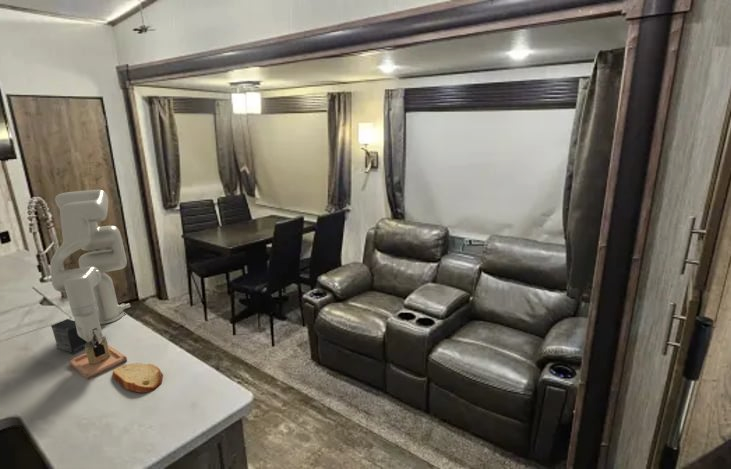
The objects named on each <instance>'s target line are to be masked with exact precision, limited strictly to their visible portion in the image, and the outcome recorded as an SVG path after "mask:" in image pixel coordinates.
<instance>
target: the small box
mask: <svg viewBox="0 0 731 469" xmlns="http://www.w3.org/2000/svg"><path fill="white" fill-rule="evenodd" d="M50 327H51V329H52V332H53V336H54V340H55V344H56V347H57V348H56V349H57V350H60V351H63V352H65V353H69V354H71V355H74V354H76V353H78V352H80V351H82V350H85V345H84V340H83V339H82V338H81V337H79V336H78V334H77V329H76V324H75V320H72V319H69V318H67V319H64V320H62V321H59V322H56V323H55V324H52V325H51V326H50Z"/></svg>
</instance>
